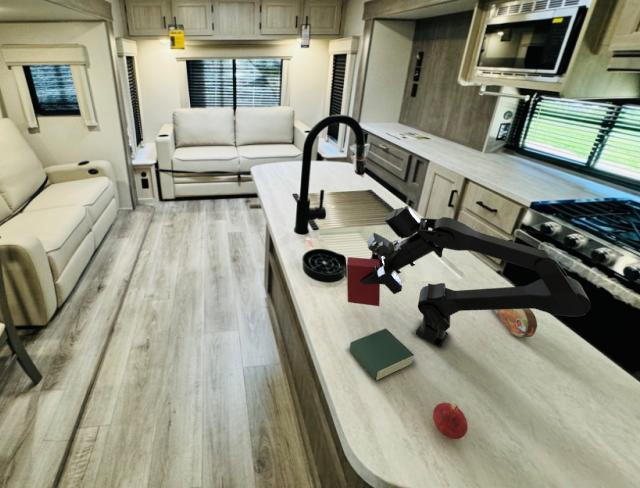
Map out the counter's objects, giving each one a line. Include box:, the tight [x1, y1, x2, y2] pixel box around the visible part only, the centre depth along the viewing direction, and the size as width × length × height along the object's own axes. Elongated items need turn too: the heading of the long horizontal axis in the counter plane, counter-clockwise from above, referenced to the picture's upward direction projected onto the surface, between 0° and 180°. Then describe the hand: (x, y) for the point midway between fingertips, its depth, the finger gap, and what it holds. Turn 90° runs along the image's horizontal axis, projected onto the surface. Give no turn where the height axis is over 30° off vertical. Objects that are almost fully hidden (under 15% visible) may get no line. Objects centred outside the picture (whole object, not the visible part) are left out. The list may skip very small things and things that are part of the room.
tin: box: [492, 309, 538, 338], centre depth 88 cm, size 15×3×8 cm, turn 171°
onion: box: [432, 402, 469, 440], centre depth 62 cm, size 6×6×8 cm
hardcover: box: [349, 327, 415, 381], centre depth 79 cm, size 12×9×3 cm
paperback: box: [345, 256, 381, 307], centre depth 89 cm, size 9×4×13 cm, turn 69°
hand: (360, 277), depth 89 cm, fingers closed on paperback, 4 cm apart
